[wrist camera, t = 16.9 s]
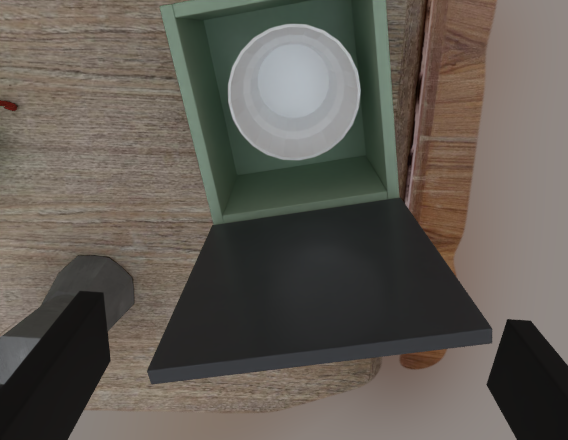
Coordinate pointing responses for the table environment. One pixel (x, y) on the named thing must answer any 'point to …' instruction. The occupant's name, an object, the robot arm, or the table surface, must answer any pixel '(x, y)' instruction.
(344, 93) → the cup
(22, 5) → the table surface
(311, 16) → the green box
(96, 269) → the coffeepot
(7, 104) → the toy
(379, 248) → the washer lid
